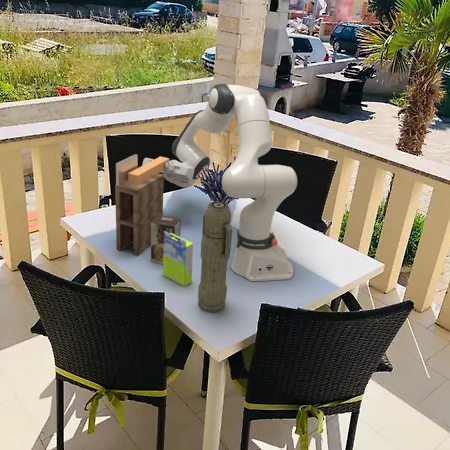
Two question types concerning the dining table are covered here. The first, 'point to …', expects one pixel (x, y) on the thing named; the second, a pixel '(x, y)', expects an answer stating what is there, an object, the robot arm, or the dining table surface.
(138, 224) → the shelf
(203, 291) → the thermos
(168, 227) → the coffee box
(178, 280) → the box
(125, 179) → the bookend
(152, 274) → the dining table surface
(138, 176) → the orange rectangular bar
